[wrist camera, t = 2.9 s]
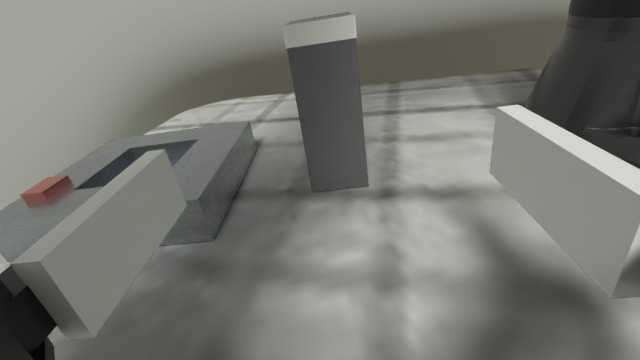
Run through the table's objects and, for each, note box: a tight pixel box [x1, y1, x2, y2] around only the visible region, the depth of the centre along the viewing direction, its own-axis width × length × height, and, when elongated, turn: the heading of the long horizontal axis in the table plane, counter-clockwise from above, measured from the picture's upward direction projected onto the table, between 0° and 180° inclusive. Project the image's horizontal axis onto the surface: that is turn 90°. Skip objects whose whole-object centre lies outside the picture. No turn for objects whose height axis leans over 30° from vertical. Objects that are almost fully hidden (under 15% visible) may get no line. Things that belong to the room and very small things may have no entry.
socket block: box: [0, 121, 257, 262], centre depth 26 cm, size 14×14×4 cm
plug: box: [282, 12, 368, 192], centre depth 23 cm, size 4×5×11 cm
